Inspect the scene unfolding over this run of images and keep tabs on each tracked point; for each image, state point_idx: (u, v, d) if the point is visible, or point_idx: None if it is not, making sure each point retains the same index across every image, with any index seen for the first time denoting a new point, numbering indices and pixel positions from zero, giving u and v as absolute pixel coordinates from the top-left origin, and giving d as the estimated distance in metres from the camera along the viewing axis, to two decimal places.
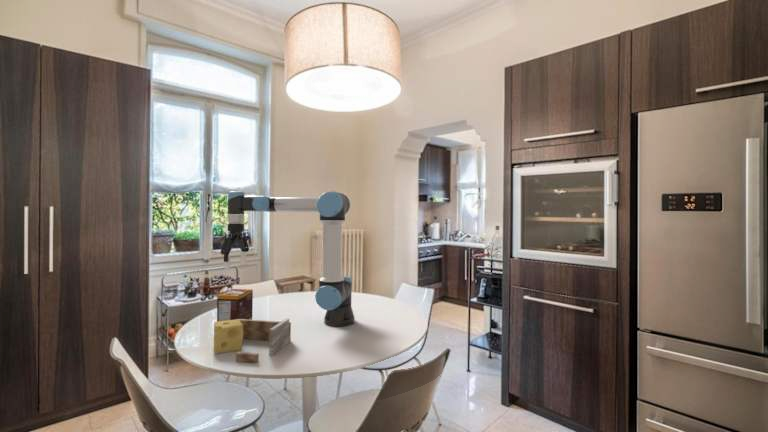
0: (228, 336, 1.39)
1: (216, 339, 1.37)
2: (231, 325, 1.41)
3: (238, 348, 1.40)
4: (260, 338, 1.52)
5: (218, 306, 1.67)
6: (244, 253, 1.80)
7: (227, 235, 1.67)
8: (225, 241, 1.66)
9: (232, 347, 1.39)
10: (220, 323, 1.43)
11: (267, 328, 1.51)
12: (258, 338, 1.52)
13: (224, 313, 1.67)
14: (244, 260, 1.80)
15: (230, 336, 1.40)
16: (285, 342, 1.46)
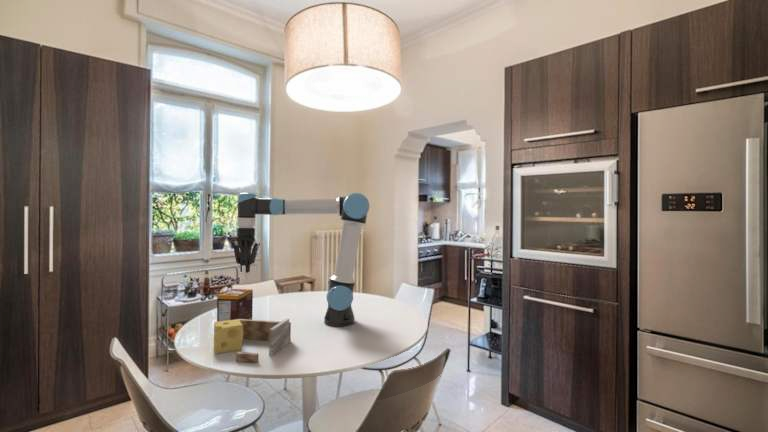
0: (228, 336, 1.39)
1: (216, 339, 1.37)
2: (231, 325, 1.41)
3: (238, 348, 1.40)
4: (260, 338, 1.52)
5: (218, 306, 1.67)
6: None
7: None
8: None
9: (232, 347, 1.39)
10: (220, 323, 1.43)
11: (267, 328, 1.51)
12: (258, 338, 1.52)
13: (224, 313, 1.67)
14: None
15: (230, 336, 1.40)
16: (285, 342, 1.46)
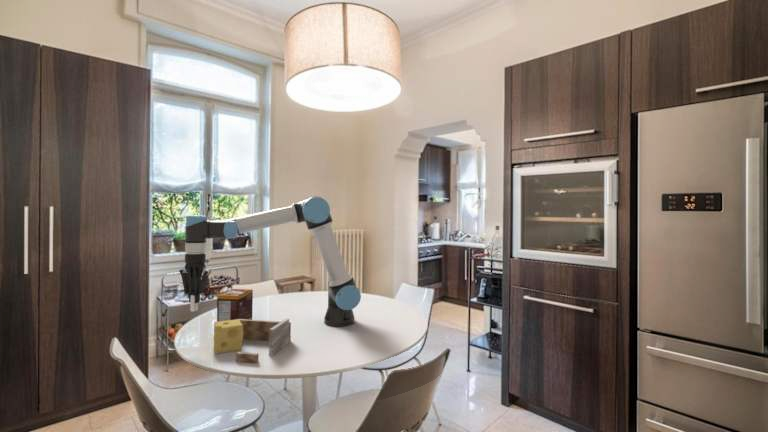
0: (228, 336, 1.39)
1: (216, 339, 1.37)
2: (231, 325, 1.41)
3: (238, 348, 1.40)
4: (260, 338, 1.52)
5: (218, 306, 1.67)
6: None
7: None
8: None
9: (232, 347, 1.39)
10: (220, 323, 1.43)
11: (267, 328, 1.51)
12: (258, 338, 1.52)
13: (224, 313, 1.67)
14: None
15: (230, 336, 1.40)
16: (285, 342, 1.46)
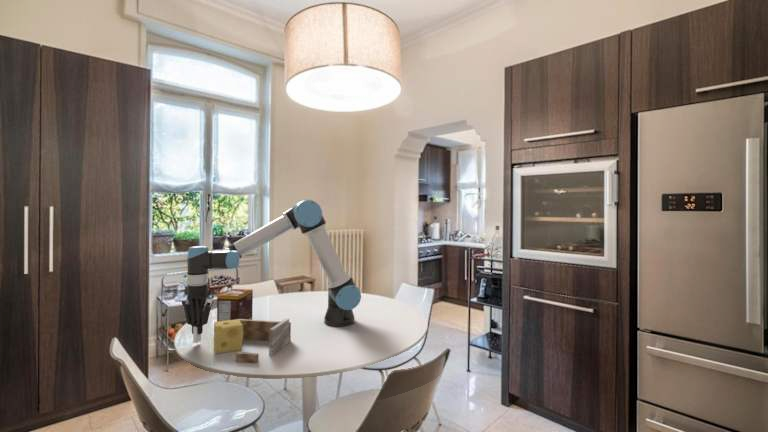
0: (228, 336, 1.39)
1: (216, 339, 1.37)
2: (231, 325, 1.41)
3: (238, 348, 1.40)
4: (260, 338, 1.52)
5: (218, 306, 1.67)
6: None
7: None
8: None
9: (232, 347, 1.39)
10: (220, 323, 1.43)
11: (267, 328, 1.51)
12: (258, 338, 1.52)
13: (224, 313, 1.67)
14: None
15: (230, 336, 1.40)
16: (285, 342, 1.46)
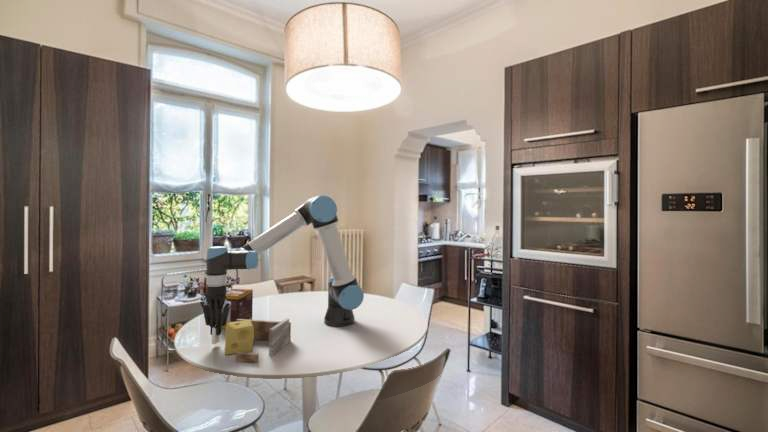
0: (239, 337, 1.38)
1: (227, 340, 1.35)
2: (241, 326, 1.39)
3: (249, 349, 1.39)
4: (260, 338, 1.52)
5: None
6: None
7: None
8: None
9: (243, 348, 1.38)
10: (232, 324, 1.42)
11: (267, 328, 1.51)
12: (258, 338, 1.52)
13: None
14: None
15: (240, 337, 1.39)
16: (285, 342, 1.46)
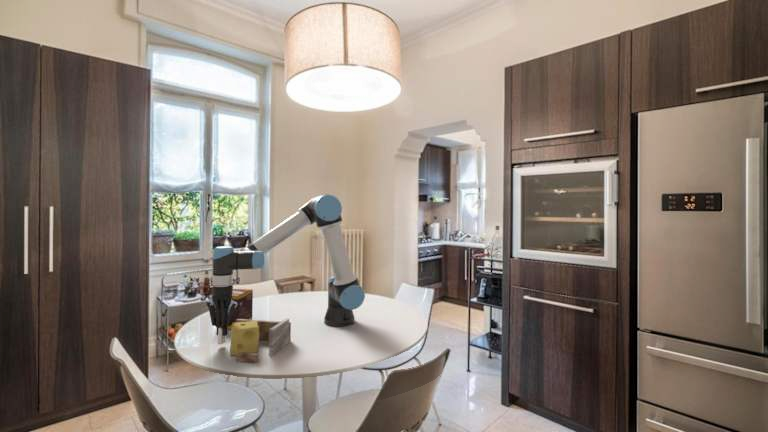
0: (244, 338, 1.37)
1: (232, 341, 1.35)
2: (247, 326, 1.38)
3: (254, 350, 1.38)
4: (260, 338, 1.52)
5: None
6: None
7: None
8: None
9: (248, 349, 1.37)
10: (237, 324, 1.41)
11: (267, 328, 1.51)
12: None
13: None
14: None
15: (246, 338, 1.38)
16: (285, 342, 1.46)
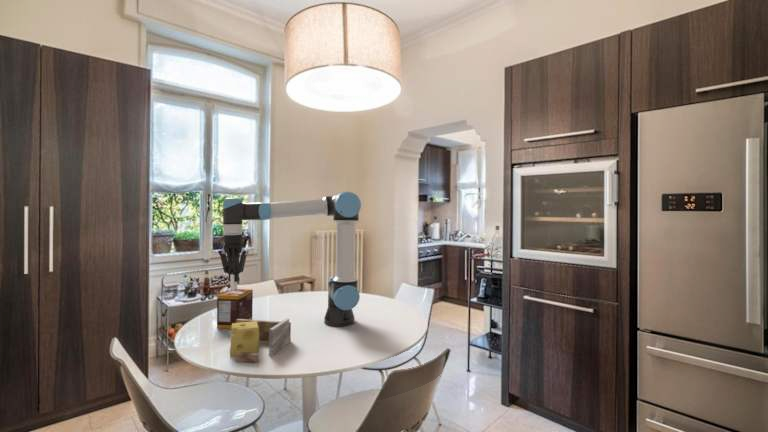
0: (244, 338, 1.37)
1: (232, 341, 1.35)
2: (247, 327, 1.38)
3: (254, 351, 1.38)
4: (260, 338, 1.52)
5: (218, 306, 1.67)
6: None
7: None
8: None
9: (248, 350, 1.37)
10: (237, 325, 1.41)
11: (267, 328, 1.51)
12: None
13: (224, 313, 1.67)
14: None
15: (246, 338, 1.38)
16: (285, 342, 1.46)
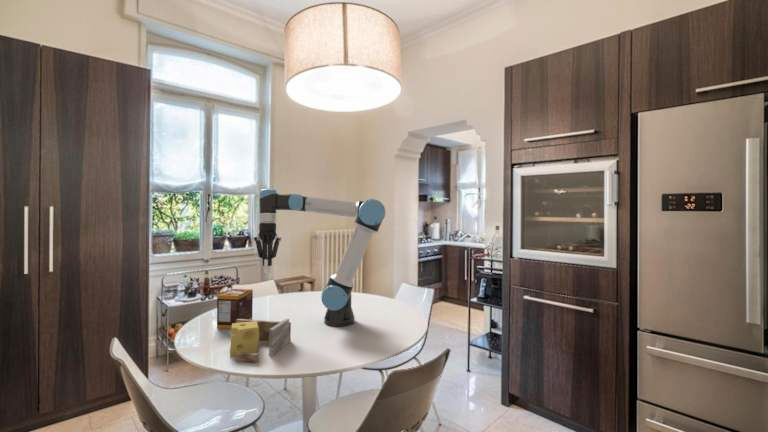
0: (244, 338, 1.37)
1: (232, 341, 1.35)
2: (247, 327, 1.38)
3: (254, 351, 1.38)
4: (260, 338, 1.52)
5: (218, 306, 1.67)
6: None
7: None
8: None
9: (248, 350, 1.37)
10: (237, 324, 1.41)
11: (267, 328, 1.51)
12: None
13: (224, 313, 1.67)
14: None
15: (246, 338, 1.38)
16: (285, 342, 1.46)
